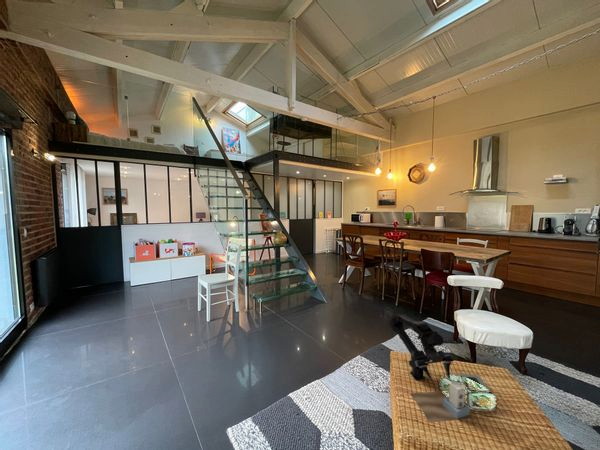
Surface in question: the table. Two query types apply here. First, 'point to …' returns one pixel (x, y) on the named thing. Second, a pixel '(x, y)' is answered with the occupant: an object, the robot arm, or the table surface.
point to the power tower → (456, 395)
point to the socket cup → (454, 411)
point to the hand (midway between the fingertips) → (440, 379)
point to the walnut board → (434, 406)
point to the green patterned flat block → (474, 378)
